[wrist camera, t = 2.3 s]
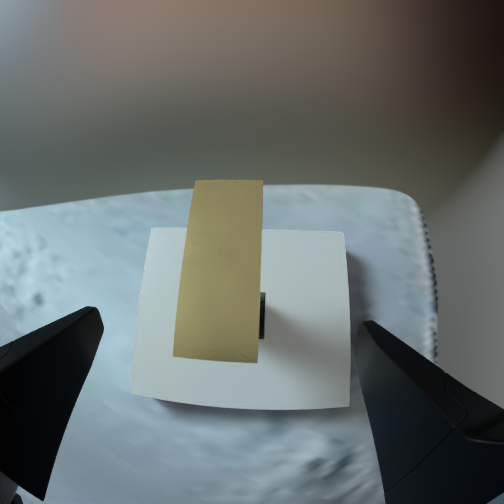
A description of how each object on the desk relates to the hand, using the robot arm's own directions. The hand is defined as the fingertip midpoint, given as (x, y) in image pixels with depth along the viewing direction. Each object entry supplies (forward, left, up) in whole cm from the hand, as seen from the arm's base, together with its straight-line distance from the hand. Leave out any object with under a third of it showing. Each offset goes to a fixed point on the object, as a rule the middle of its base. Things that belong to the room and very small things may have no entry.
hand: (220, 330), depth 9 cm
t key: (+1, -1, -11) cm, 11 cm away
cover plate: (+2, -1, -11) cm, 11 cm away
